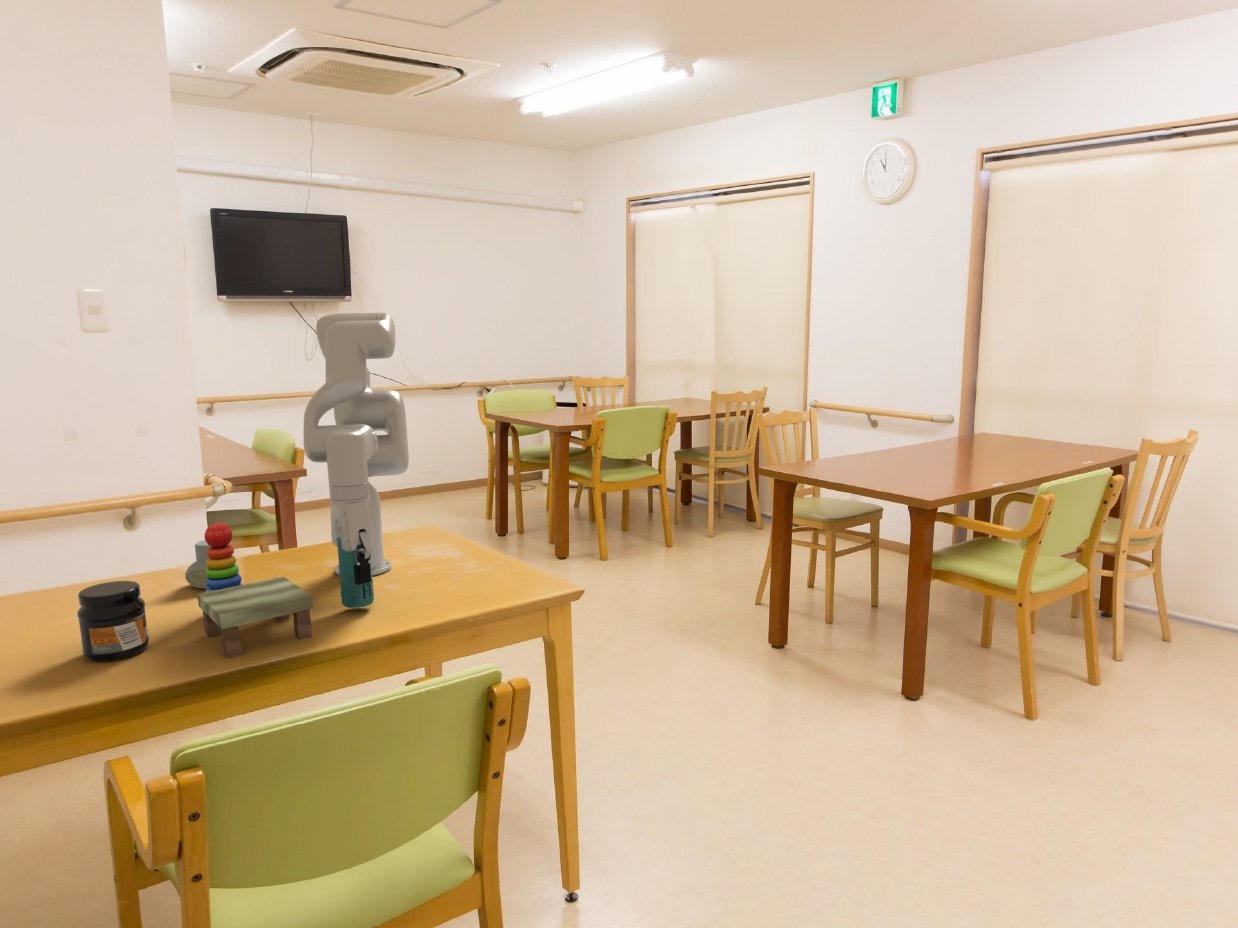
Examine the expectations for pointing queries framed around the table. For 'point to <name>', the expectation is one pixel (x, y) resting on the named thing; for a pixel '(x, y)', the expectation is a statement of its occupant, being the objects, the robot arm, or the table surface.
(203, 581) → the grey flask
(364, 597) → the beverage bottle
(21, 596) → the table surface
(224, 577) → the stacking toy
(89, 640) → the supplement container
